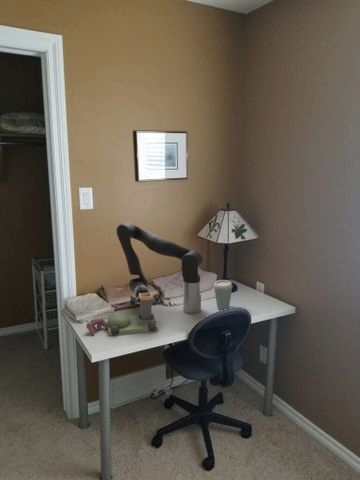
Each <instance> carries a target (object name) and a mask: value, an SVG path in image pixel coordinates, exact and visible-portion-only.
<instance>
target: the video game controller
mask: <svg viewBox="0 0 360 480" xmlns="http://www.w3.org/2000/svg"><path fill="white" fill-rule="evenodd" d="M102 328H104V329H105V330H108V323H106V321H105V319H103V318H102V317H97V318H93V319H91V320H90V321H88V322H87V324H86V329H88V332H89V333H90V334H91V335H92V336H94V335H95V332H96V331H97V330H102Z"/></svg>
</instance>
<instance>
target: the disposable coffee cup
mask: <svg viewBox="0 0 360 480" xmlns="http://www.w3.org/2000/svg"><path fill="white" fill-rule="evenodd" d="M213 290H214V295H215V301H216V302H215V303H216V307H217V309H218V310H222V311H223V309H226V310H228V309H229V308H230V303H231V297H232V290H233V284H232V281H230V280H228V279H219V280H216V281H215V282H214V284H213Z"/></svg>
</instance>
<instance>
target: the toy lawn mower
mask: <svg viewBox="0 0 360 480" xmlns="http://www.w3.org/2000/svg"><path fill="white" fill-rule="evenodd" d="M107 325H108V329H107V330H108V336H117V335H127V334H128V335H129V334H137V333H147V332H158V331H159V325H158V321H157V319H156V317H155V314H154V312H152V320H144V321H141V316H140V314H136V315H129V314H126V313H111V314H110V315H109V316H108V317H107Z"/></svg>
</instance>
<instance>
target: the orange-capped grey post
mask: <svg viewBox="0 0 360 480" xmlns="http://www.w3.org/2000/svg"><path fill="white" fill-rule="evenodd" d="M152 296H153V295H152V293H151V291H150V292H149V293H139V298H140V304H139V306H140V307H139V310H140V314H139V315H140V316H141V321H144V320H152V313H153V312H152V309H153V308H152V303H151V300H152V301H153V298H152Z"/></svg>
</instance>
